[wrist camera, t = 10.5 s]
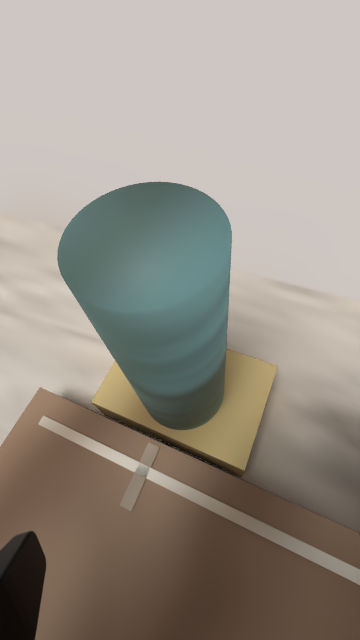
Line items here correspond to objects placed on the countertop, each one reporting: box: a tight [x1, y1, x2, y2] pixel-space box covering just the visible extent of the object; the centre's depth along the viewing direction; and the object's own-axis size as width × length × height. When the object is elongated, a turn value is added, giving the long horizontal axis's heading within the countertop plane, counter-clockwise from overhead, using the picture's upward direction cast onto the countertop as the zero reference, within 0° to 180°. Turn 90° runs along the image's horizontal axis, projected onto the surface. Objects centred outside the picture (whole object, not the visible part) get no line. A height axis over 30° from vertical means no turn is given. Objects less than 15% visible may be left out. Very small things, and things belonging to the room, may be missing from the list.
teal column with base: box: [58, 182, 278, 477], centre depth 12 cm, size 7×5×11 cm, turn 66°
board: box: [0, 388, 360, 640], centre depth 11 cm, size 20×8×2 cm, turn 66°
